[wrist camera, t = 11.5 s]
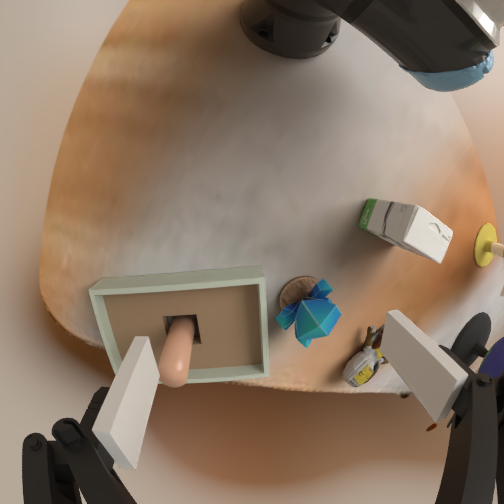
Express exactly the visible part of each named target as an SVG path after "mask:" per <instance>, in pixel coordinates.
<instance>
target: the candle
mask: <svg viewBox="0 0 504 504" xmlns="http://www.w3.org/2000/svg"><path fill="white" fill-rule="evenodd" d="M494 254H495V255H498V256H501V257H504V245H502V244H499V243H497V238H496V231H495V228H494V227H493V226H492V224H490V223H486V224H484V225H483V226H482V227H481V229H480V230H479V232H478V234H477V237H476V240H475V247H474V258H475V261H476V263H477V265H479V266H480V267H484V266H486V265H487V264H489V263H490V261H491V259H492V258H493V255H494Z"/></svg>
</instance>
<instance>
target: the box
mask: <svg viewBox="0 0 504 504" xmlns="http://www.w3.org/2000/svg"><path fill="white" fill-rule="evenodd" d="M88 291H89V295H90V299H91V303H92V306H93V310H94V314H95V317H96V321H97V324H98V327H99V330H100V334H101V337H102V340H103V343H104V346H105V349H106V351H107V354H108V357H109V360H110V362H111V365H112V368H113V370H114V373H115V375H116V374H117V372H118V370H119V368H120V366H121V364H122V362H123V360H124V358H125V356H126V354H127V352H128V350H129V348H130V346H131V344H132V342H133V340H134V338H135V336H148V337H149V340H150V344H151V348H152V351H153V354H154V358H155V361H156V364H157V367H158V364H159V361H160V357H161V354H162V351H163V348H164V344H165V341H166V338H167V335H168V332H169V324H168V320H167V316H177V315H193V314H197V320H198V326H199V332H200V336H194V338H193V344H192V351H191V357H190V364H189V371H188V378H187V382H186V383H203V382H220V381H233V380H243V379H253V378H262V377H269V376H270V370H269V346H268V323H267V302H266V282H265V275H264V273H263V271H262V269H261V267H260V266H249V267H238V268H227V269H215V270H204V271H192V272H179V273H167V274H154V275H141V276H127V277H114V278H102V279H100V280H99V281H98V282H97V283H96V284H95V285H93V286H92V287H91V288H90V289H89V290H88ZM158 384H163V383H161V382H160V381H158Z"/></svg>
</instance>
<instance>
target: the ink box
mask: <svg viewBox="0 0 504 504" xmlns="http://www.w3.org/2000/svg"><path fill="white" fill-rule="evenodd" d="M359 227H361V228H363V229H364V230H366V231H368V232H370V233H372V234H374V235H376V236H378V237H380V238H382V239H384V240H385V241H387V242H389V243H391V244H393V245H395V246H398V247H401V248H403V249H406V250H408V251H411V252H413V253H416V254H418V255H421V256H423V257H426V258H428V259H430V260H433V261H435V262H437V263H440V264H441V262H442V260H443V258H444V256H445V253H446V251H447V248H448V245H449V243H450V240H451V238H452V235H453V232H452V230H451V229H449V228H448V227H447V226H446V225H445V224H443V223H442V222H440V220H438V219H437V218H435V217H434V216H433V215H432V214H431V213H429V212H428V211H426V210H425V209H424V208H423V207H420V206H418V205H413V204H407V203H400V202H393V201H386V200H378V199H368V201H367V203H366V206H365V208H364V211H363V214H362V216H361V219H360V223H359Z"/></svg>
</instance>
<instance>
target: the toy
mask: <svg viewBox="0 0 504 504" xmlns="http://www.w3.org/2000/svg"><path fill="white" fill-rule="evenodd" d="M383 331H384V326H383V327H382V328H381V329H380V330H379V331H378V332H377V334H376V328H375V327H374V326H372V327H370V326H369V327H368V329H367V337H366V340H365V346H364V350H363V351H360V352H358V353H357V354H356V355H355V356H354V357H353V358H352V359H351V360H350V361H349V362H348V363H347V365H346V367H345V369H344V371H343V374H342V375H343V378H344V380H345V381H346V382H347V383H348V384H349V385H351V386H352V387H358V386H360V385H362V384H364V383H366V382H368V381H369V380H370V379H371V378H372V377H373V376H374V375H375V373H376V372H377V370H378V368H379V364H380V363H381V364H385V363H388V360H387V359H386V358H385V357H382V356H383V354H382V353H381V352H380V346H381V341H382V336H383Z"/></svg>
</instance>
